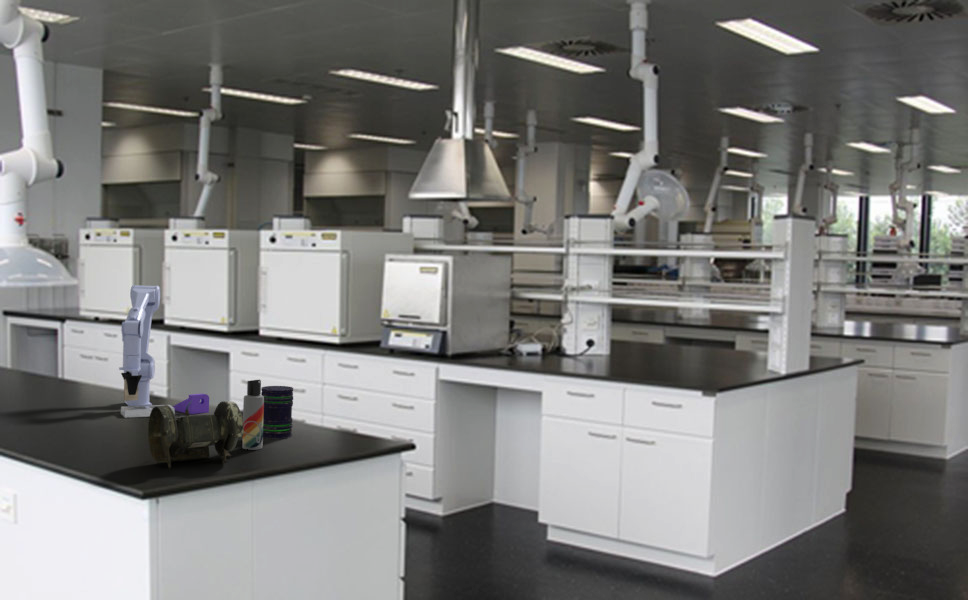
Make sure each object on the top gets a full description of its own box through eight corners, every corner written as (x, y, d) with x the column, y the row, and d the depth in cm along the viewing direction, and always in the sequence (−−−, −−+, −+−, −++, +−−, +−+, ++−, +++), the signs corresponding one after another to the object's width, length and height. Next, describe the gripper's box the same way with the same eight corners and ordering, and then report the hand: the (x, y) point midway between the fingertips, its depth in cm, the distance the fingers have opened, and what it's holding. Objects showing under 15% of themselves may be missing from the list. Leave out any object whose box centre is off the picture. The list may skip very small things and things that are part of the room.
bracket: (208, 413, 331) (209, 393, 331) (191, 415, 326) (192, 395, 326) (189, 408, 339) (190, 389, 339) (172, 410, 334) (172, 391, 333)
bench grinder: (250, 455, 247) (242, 382, 254) (164, 458, 234) (159, 382, 241) (223, 475, 262) (216, 406, 269) (141, 479, 249) (136, 406, 256)
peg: (123, 398, 328) (124, 378, 328) (135, 398, 330) (136, 378, 330) (125, 400, 325) (126, 380, 324) (137, 400, 327) (138, 380, 326)
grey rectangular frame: (120, 413, 321) (121, 406, 321) (169, 411, 329) (169, 404, 329) (124, 417, 314) (125, 410, 314) (174, 415, 322) (174, 408, 322)
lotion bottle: (252, 450, 269) (254, 381, 268) (237, 448, 272) (239, 379, 271) (266, 448, 274) (268, 379, 273) (252, 445, 277) (254, 377, 276)
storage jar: (281, 431, 299) (282, 385, 299) (298, 436, 292) (299, 388, 292) (253, 435, 292) (254, 387, 292) (270, 440, 285) (271, 391, 285)
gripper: (116, 352, 331) (115, 391, 332) (123, 357, 319) (122, 397, 319) (137, 352, 335) (136, 390, 335) (144, 357, 322) (144, 396, 323)
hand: (130, 393), depth 327 cm, fingers closed on peg, 4 cm apart
